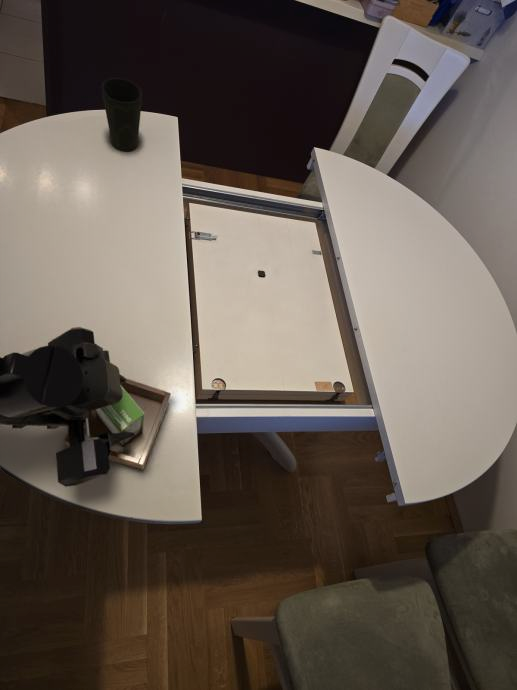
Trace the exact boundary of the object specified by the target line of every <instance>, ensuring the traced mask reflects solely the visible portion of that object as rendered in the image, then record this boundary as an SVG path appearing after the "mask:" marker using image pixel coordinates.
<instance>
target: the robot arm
mask: <svg viewBox="0 0 517 690" xmlns="http://www.w3.org/2000/svg"><path fill="white" fill-rule="evenodd" d="M94 333H95V332H94V331H92V330H91V329H88V328H84V327H82V326H75V327H71V328H70V329H68V330H66V331H64V332H63V333H61V334H60V335H57V336H55V338H53V339H52V340H50V341H48V343H47V345H44V346H40V347H37V348H34V349H32V350H31V349H30V350H29V351H26V352H23V353H19V352H11V353H7V354H6V355H4V356H3V357H0V426H11V428H12V429H23V428H25V427H27V426H30V427H33V426H34V427H46V429H47V430H56V429H58V428H60V427H63V428H64V427H67V431H68V432H69V444H70V447H69V446H67V447H65V448H63V449H61V450H59V451H57V452H55V460H56V461H55V462H56V473H57V483H59V484H60V485H62V487H65V488H66V487H74V486H79V485H82V484H84V483H88V482H91V481H93V480H95V479H98V478H100V477H104V476H105V475H108V473H109V471H110V468H111V466H110V465H111V464H110V460H109V457H110V455H111V447H112V446H113V445H115V444H116V443H118V442H120V441H122V440H125V439H127V438H130V437H132V436H134V433H132V432H123V433H114V434H109V432H106V433H104V434H101V435H99V436H97V437H90V434H89V424H88V417H89V411H92V410H95V409H98V408H102V407H105V406H108V405H114V404H116V403H118V402H119V401H120V400H121V399H122V395H123V393H122V389H121V384H122V383H124V382H126V379H127V378H126V377H125V376H124V375H122V374H121V372H120V368H119V367H118V366H117V365H115V364H114V363H112V362H111V357H110V352H109V350H107V349H106V350H104V348H103V347H102V346H100V345H98V344H97V343H96V342H95V334H94ZM68 432H67V433H68Z"/></svg>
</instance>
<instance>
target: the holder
mask: <svg viewBox="0 0 517 690" xmlns="http://www.w3.org/2000/svg"><path fill="white" fill-rule="evenodd" d="M121 386H122V387H123V388H124V390H125V391H126V392H127V393H128V394H129V396H130V397H131V398H132V399H133V400H134V401H135V403H136V404H137V405H138V406H139V407H140V409H141V410H142V411H143V412H144V413H145V416H144V423H143V430H142V431H141V432H140V433H138V434H137V435H136V436H134V437H133V438H132V439H131V440H129V441H128V442H127V443H125V444H124V445H121V443H120V442H118V443H116V444H115V445H113V446H112V447H111V455H110V457H109V461H112V462H114V463H119V464H122V465H124V466H125V465H126V466H128V467H132V468H135V469H138V470H141V471H144V468H145V466H146V464H147V460H148V458H149V457H150V456H149V455H150V453H151V450H152V447H153V445H154V443H155V440H156V437H157V435H158V433H159V430H160V426H161V424H162V422H163V419H164V416H165V413H166V411H167V408H168V406H169V403H170V400H171V399H170V398H171V392H168V391H165V390H162V389H159V388H156V387H153V386H150V385H147V384H144V383H141V382H138V381H135V380H132V379H129V378H126V382H124V383H122V384H121ZM88 424H89V434H90V437H97V436H99V435H101V434H104V433H106V432H109V434H112V433H111V431H110V430H109V429H108V428H107V426H106V425H105V424H104V423H103V421H102V420H101V419H100V418H99V416H98V415H97V414H96V413H95V410H92V411H89V417H88ZM63 442H64V444H66V445H67V447H70V444H69V432H67V434H66V435H65V438H64V440H63Z"/></svg>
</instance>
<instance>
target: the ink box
mask: <svg viewBox="0 0 517 690" xmlns="http://www.w3.org/2000/svg"><path fill="white" fill-rule="evenodd" d="M121 389H122V393H123V395H122V399H121V400H120V401H119V402H118V403H116V404H114V405H108V406H105V407H102V408H98V409H95V413H96V414H97V415H98V416H99V418H100V419H101V420H102V421H103V423H104V424H105V425H106V426H107V428H108V429H109V430H110V431H111V433H112V434H114V433H123V432H132V433H134V436H136V435H137V434H138V433H140V432H141V431H142V430H143V423H144V416H145V413H144V412H143V411H142V410H141V409H140V407H139V406H138V405H137V404H136V403H135V401H134V400H133V399H132V398H131V397H130V396H129V394H128V393H127V392H126V391H125V390H124V388H123V387H122V386H121ZM134 436H132V437H130V438H127V439H125V440H122V441H120V443H121V445H124V444H125V443H127V442H128V441H129V440H131V439H132V438H133V437H134Z"/></svg>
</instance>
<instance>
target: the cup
mask: <svg viewBox="0 0 517 690" xmlns="http://www.w3.org/2000/svg"><path fill="white" fill-rule="evenodd" d="M100 88H101V94H102V99H103V104H104V110H105V115H106V120H107V124H108V131H109V136H110V142H111V145H112V146H113V148H114V149H116V150H117V151H120V152H123V153H130V152H134V151H136V150H137V148H138V145H139V144H138V143H139V134H140V123H141V113H142V112H141V111H142V102H143V101H142V100H143V91H142V89H141V87H140V86H139V85H138V84H137V83H136V82H134V81H132V80H131V79H128V78H123V77H110V78H107V79H105V80H104V81H103V82H102V83H101V87H100Z"/></svg>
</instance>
